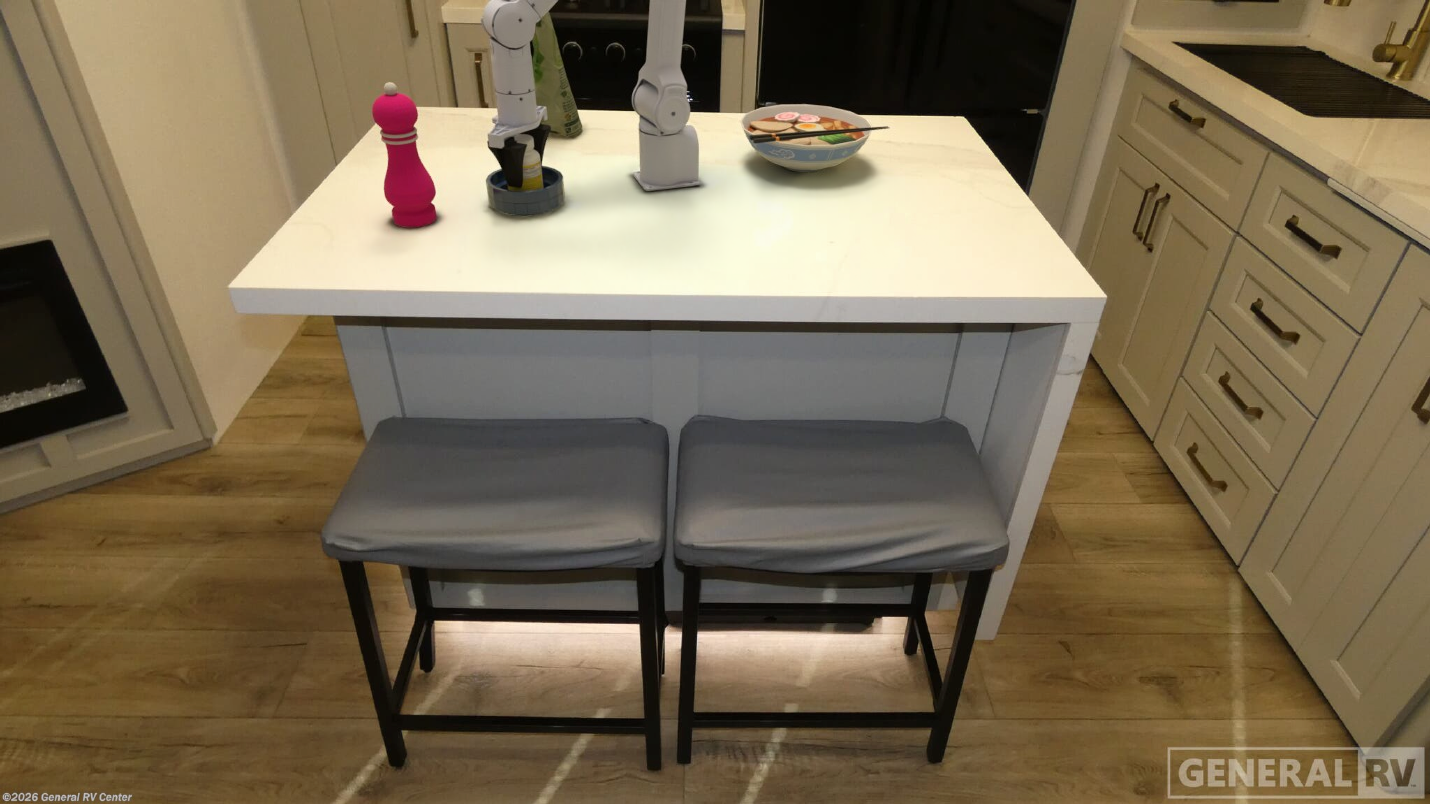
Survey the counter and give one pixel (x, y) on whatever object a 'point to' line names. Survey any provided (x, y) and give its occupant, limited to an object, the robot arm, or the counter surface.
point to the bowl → (526, 194)
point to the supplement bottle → (529, 166)
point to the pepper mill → (404, 160)
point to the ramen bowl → (806, 135)
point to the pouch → (553, 81)
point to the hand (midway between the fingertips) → (524, 179)
